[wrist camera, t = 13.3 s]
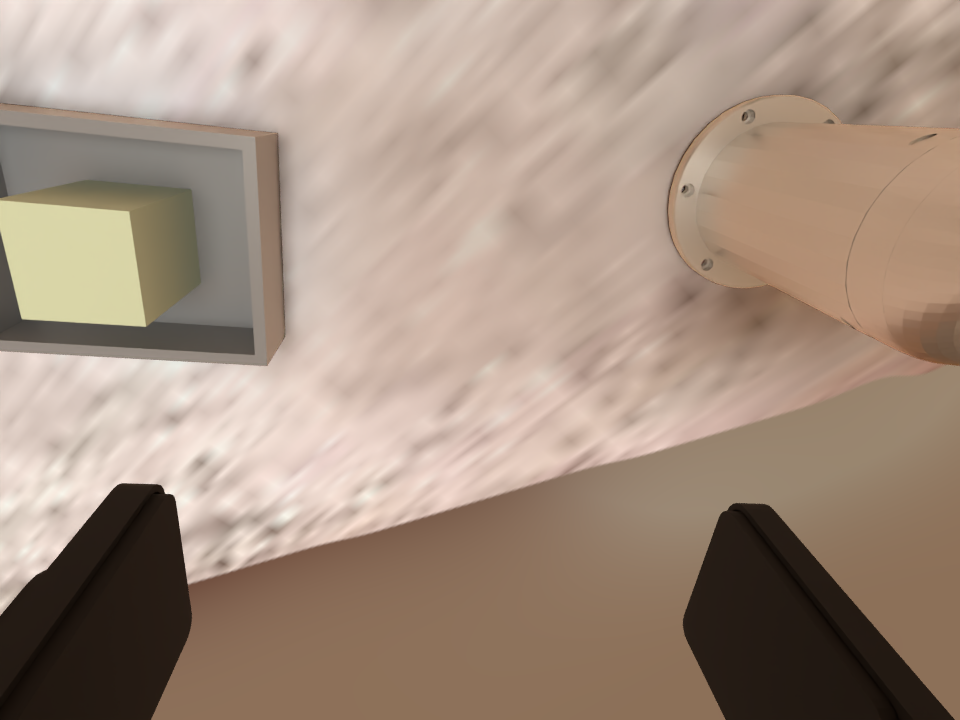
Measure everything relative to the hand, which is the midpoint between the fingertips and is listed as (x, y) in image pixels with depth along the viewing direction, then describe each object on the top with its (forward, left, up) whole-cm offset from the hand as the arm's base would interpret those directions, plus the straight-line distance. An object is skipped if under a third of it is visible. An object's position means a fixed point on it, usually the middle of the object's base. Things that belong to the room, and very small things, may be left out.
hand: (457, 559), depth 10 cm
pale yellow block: (+18, +2, -30) cm, 35 cm away
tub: (+18, +2, -30) cm, 35 cm away
